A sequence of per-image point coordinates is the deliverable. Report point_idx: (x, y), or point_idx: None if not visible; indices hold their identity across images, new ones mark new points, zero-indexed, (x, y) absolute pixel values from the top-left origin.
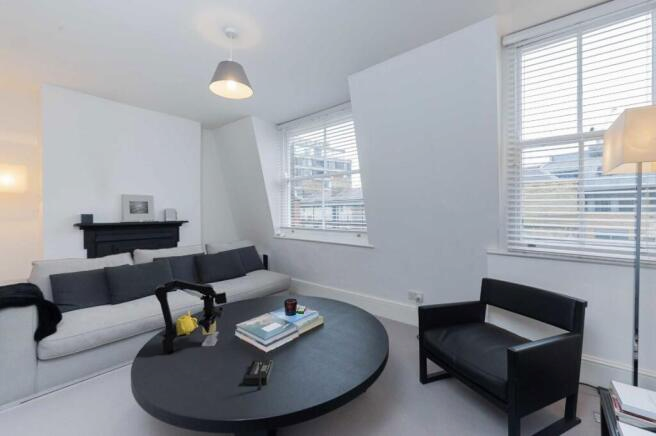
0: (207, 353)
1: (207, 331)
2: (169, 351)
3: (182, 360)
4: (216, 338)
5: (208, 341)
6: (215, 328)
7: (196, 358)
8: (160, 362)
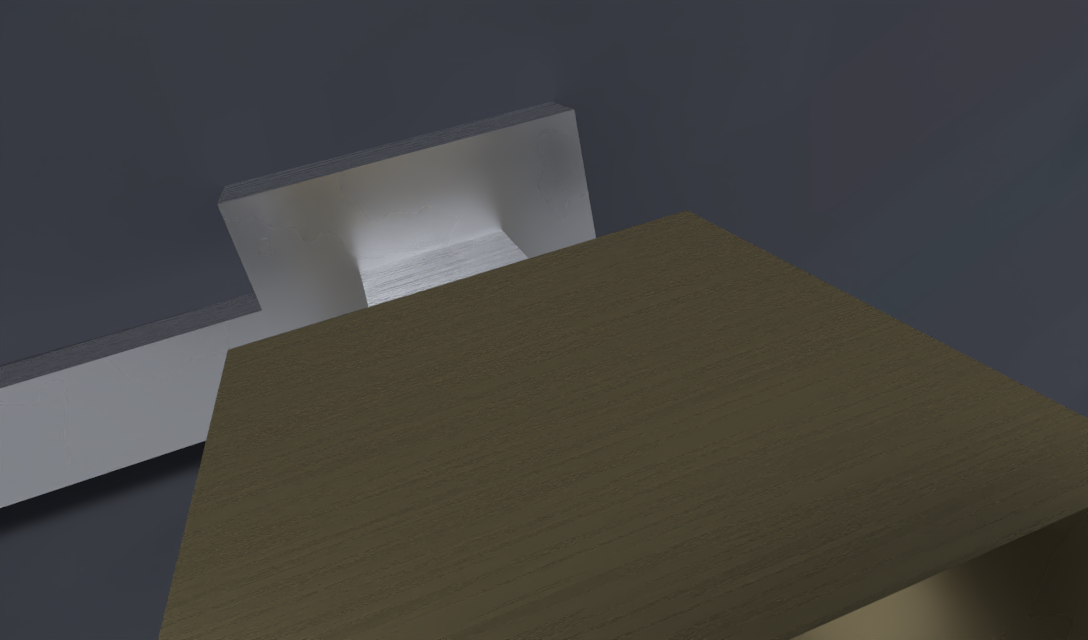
0: (888, 50)
1: None
2: None
3: (1037, 356)
4: (250, 221)
5: None
6: (311, 378)
7: (1028, 166)
8: None
